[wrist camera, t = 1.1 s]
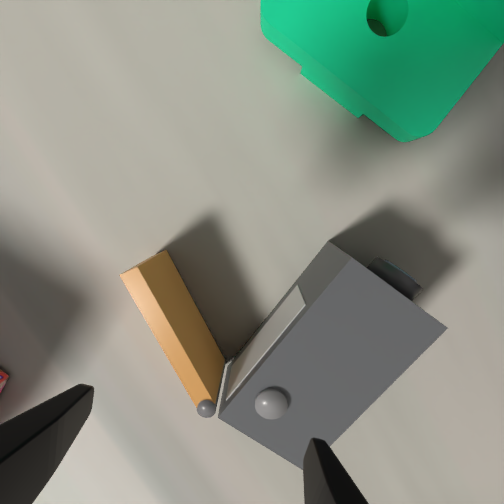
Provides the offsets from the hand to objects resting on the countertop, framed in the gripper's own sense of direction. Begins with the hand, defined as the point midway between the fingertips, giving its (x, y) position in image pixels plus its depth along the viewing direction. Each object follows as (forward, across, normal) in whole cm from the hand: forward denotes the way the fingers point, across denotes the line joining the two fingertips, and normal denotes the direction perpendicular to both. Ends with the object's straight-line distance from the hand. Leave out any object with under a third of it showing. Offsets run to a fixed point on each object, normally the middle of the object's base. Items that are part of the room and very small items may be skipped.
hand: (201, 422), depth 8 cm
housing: (+12, -6, +2) cm, 14 cm away
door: (+12, +3, +3) cm, 13 cm away
